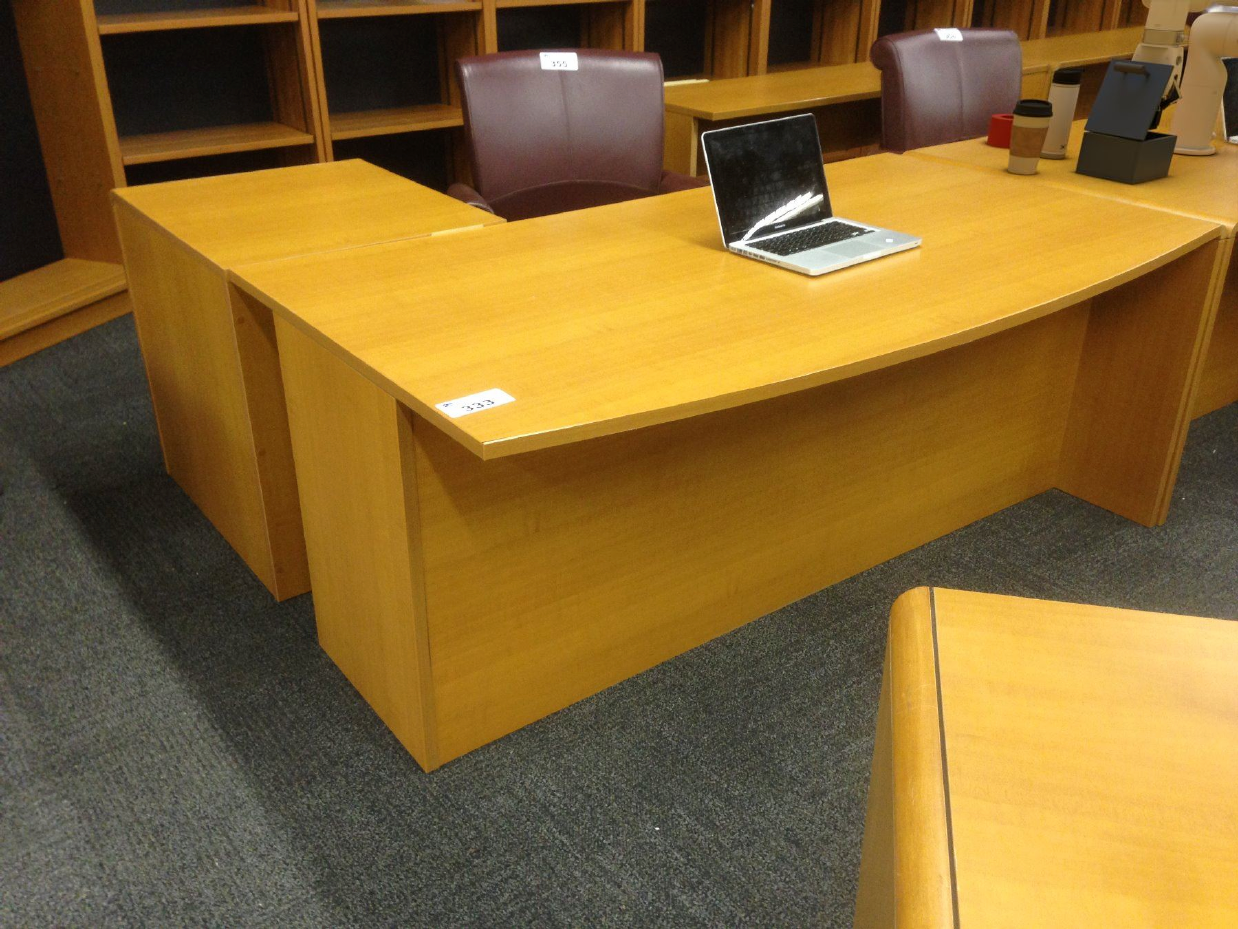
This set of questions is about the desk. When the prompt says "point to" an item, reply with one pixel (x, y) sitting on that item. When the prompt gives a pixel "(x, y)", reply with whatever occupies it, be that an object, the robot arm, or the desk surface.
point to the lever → (1000, 130)
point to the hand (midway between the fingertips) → (1140, 126)
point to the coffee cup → (1028, 135)
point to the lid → (1128, 98)
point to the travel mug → (1061, 111)
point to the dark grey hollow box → (1126, 157)
